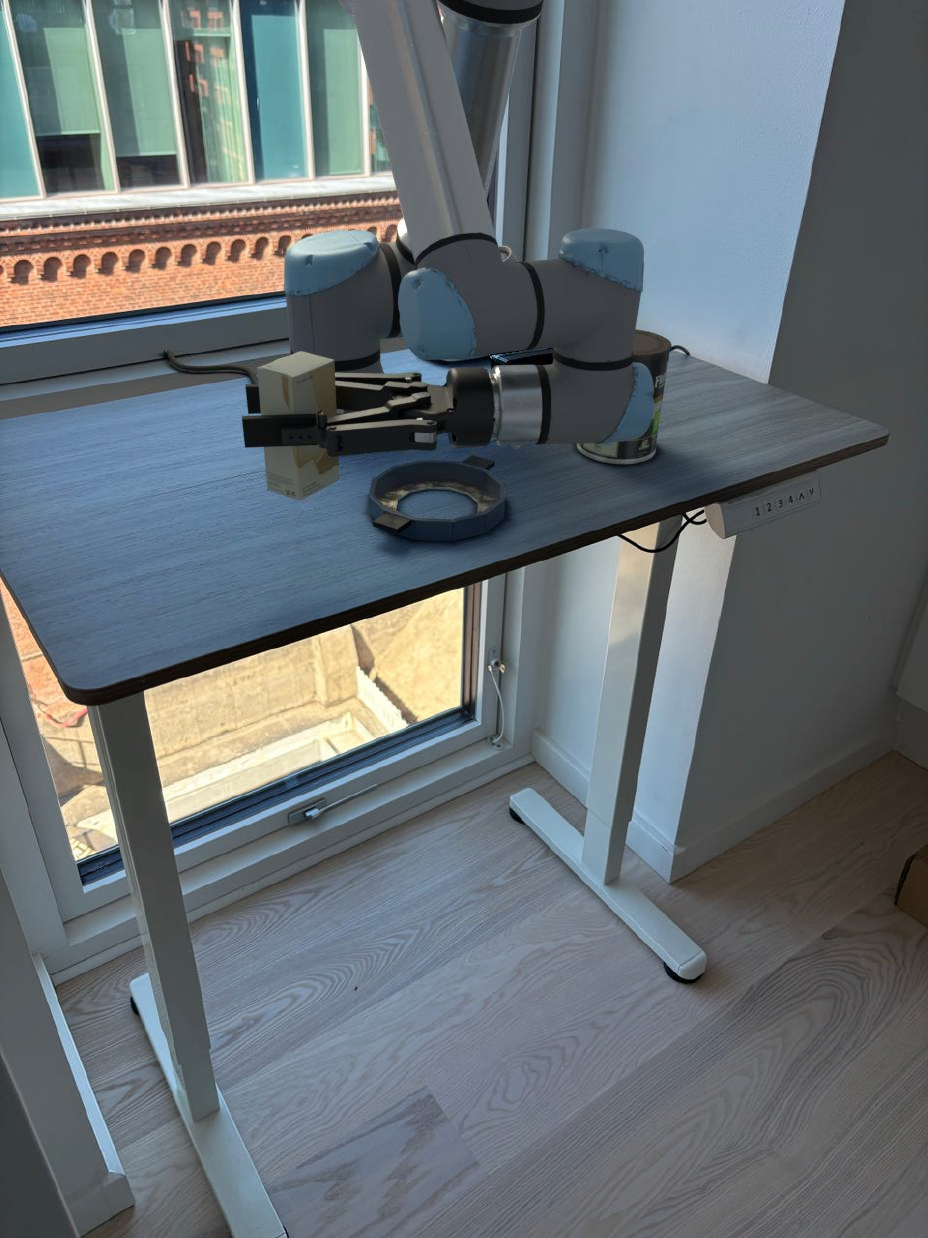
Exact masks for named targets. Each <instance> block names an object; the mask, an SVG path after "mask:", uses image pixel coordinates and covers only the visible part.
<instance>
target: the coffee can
mask: <svg viewBox="0 0 928 1238" xmlns="http://www.w3.org/2000/svg"><path fill="white" fill-rule="evenodd" d="M672 346H673V345H672V342H671V340H669V339H668V338H667V337H665V336H663V335H660V334H658V333H655V332H651V331H649V330H642V329H637V328H636V330H635V336H634V343H633V349H632V350H633V362H635V363H641V364H643V365H645V366H646V367H647V368H648V370H649V371H650V374H651V376H652V380H653V386H654V393H653V401H654V410H653V416H652V420H651V423H650V425H649V427H648V429H647V431H646V432H645V433H644V434H643V435H642V436H641V437H639V438H637V439H634V440H627V441H622V442H611V443H604V444H595V443H576V447H577V451H579V452H580V454H582V456H583V455H584V456H585V457H587V458H589V459H592V460H593V461H596V462H600V463H605V464H612V465H635V464H640V463H645V462H646V461H649V460H651V459H652V458H653V457H654V456H655V455H656V452H657V448H656V447H657V441H658V432H659V425H660V420H661V412H662V407H663V401H664V400H663V399H664V394H665V387H666V379H667V371H668V365H669V359H670V354H671V351H672Z"/></svg>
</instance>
